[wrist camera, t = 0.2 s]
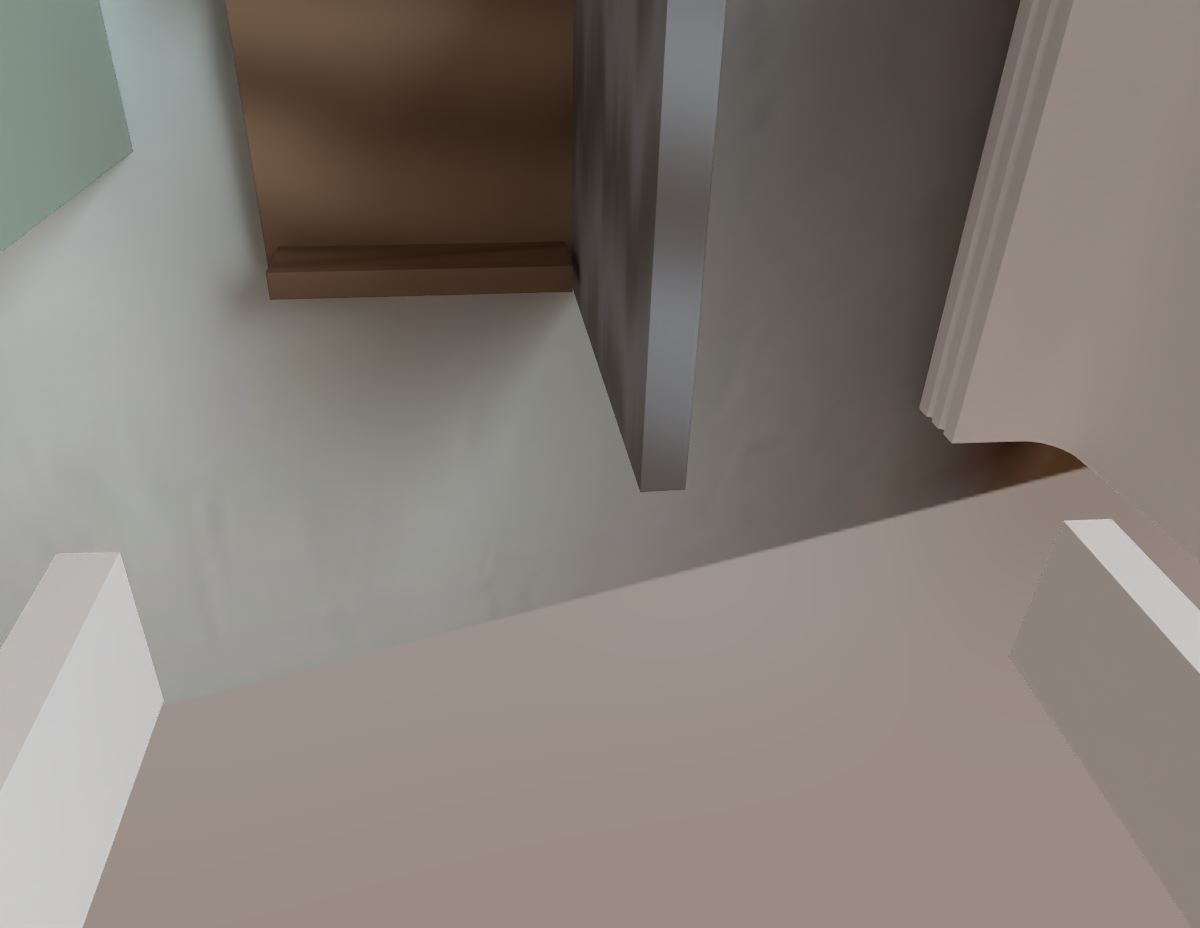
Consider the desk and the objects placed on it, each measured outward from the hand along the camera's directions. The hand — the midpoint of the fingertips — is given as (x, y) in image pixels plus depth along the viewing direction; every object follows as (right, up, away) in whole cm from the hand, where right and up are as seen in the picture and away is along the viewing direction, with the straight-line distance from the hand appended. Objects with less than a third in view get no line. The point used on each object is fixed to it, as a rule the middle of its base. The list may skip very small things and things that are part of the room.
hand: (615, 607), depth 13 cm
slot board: (-7, +16, +22) cm, 28 cm away
